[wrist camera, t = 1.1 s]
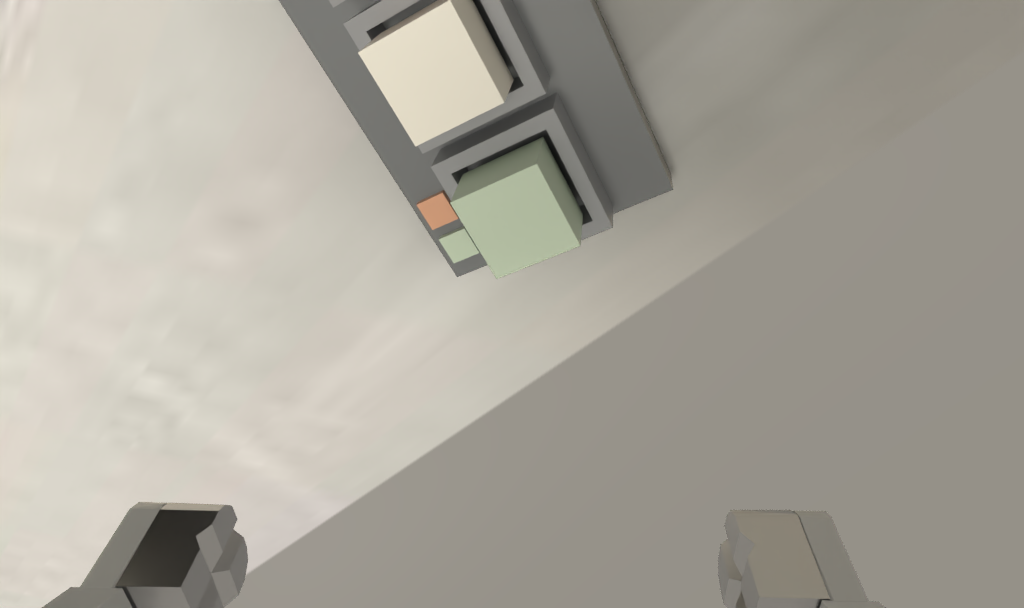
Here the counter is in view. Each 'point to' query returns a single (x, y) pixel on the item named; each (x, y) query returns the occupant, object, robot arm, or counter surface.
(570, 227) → the key sage
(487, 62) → the key cream
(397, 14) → the keypad base
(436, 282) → the counter surface
